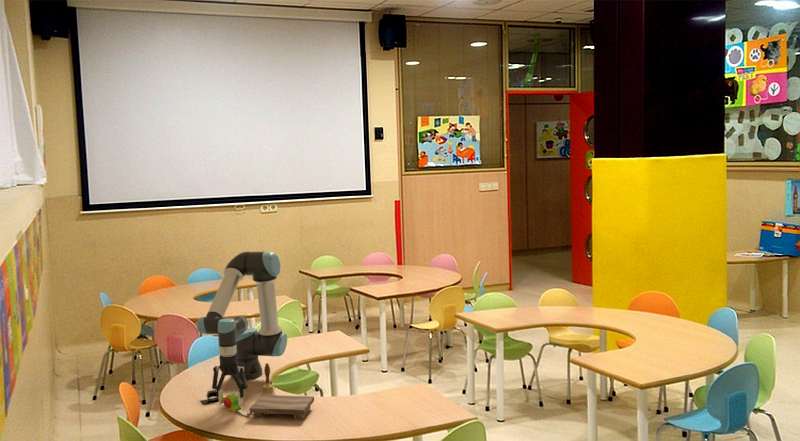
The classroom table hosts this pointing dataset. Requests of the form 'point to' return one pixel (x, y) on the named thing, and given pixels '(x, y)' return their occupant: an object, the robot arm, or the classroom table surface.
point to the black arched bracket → (209, 395)
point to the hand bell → (267, 383)
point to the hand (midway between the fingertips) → (230, 404)
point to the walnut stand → (282, 405)
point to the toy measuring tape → (234, 404)
